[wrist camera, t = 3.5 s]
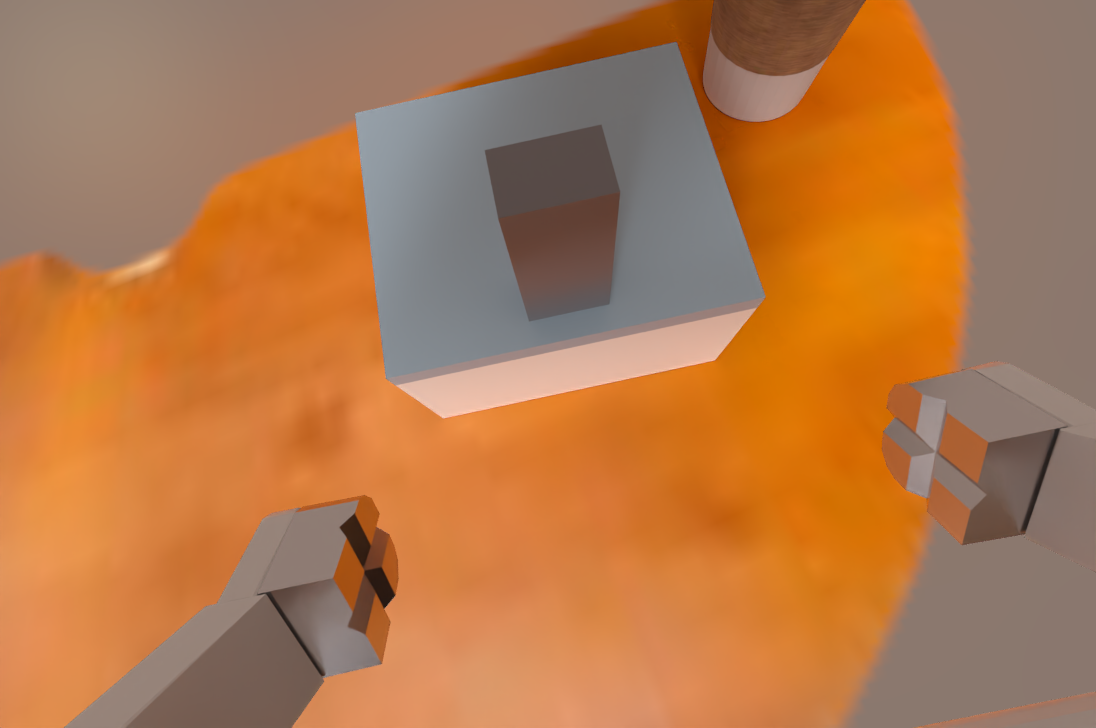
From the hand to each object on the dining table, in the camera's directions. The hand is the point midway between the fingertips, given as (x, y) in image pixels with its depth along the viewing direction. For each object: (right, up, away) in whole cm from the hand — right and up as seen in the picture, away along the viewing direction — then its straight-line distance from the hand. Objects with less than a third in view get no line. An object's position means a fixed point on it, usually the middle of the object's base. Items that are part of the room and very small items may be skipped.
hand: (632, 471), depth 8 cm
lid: (-1, +8, +14) cm, 16 cm away
